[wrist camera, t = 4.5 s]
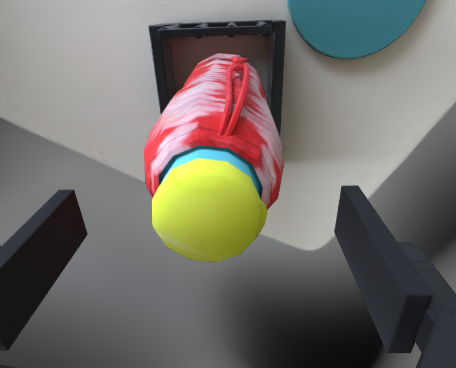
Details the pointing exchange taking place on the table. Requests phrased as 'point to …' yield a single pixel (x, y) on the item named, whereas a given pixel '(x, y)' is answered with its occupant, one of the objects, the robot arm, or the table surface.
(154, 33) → the rack
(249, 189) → the water bottle
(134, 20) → the table surface
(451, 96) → the table surface
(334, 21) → the mat
